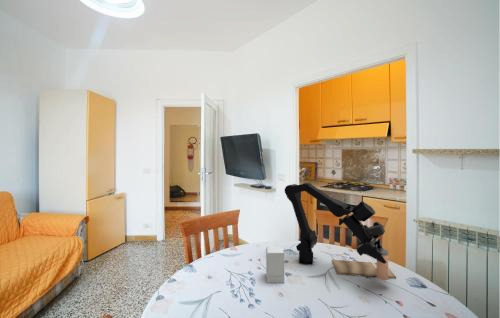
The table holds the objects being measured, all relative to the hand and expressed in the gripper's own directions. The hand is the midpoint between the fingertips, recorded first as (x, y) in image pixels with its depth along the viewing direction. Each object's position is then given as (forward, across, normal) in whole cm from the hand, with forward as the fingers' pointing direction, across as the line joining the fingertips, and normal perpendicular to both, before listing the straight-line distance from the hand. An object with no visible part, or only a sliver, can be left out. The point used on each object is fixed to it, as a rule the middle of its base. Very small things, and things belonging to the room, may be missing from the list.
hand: (386, 261), depth 87 cm
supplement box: (-19, -22, +35) cm, 46 cm away
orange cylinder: (+4, 0, +6) cm, 7 cm away
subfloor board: (0, +9, +16) cm, 18 cm away
